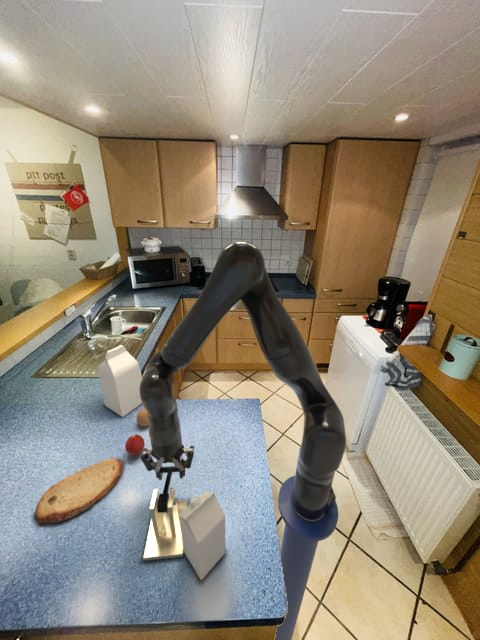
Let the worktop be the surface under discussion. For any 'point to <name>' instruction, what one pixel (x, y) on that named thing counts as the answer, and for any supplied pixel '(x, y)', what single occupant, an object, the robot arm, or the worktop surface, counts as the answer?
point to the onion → (134, 444)
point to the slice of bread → (78, 491)
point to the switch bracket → (165, 529)
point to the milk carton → (203, 532)
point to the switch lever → (165, 489)
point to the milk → (120, 381)
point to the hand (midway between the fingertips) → (171, 476)
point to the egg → (142, 418)
